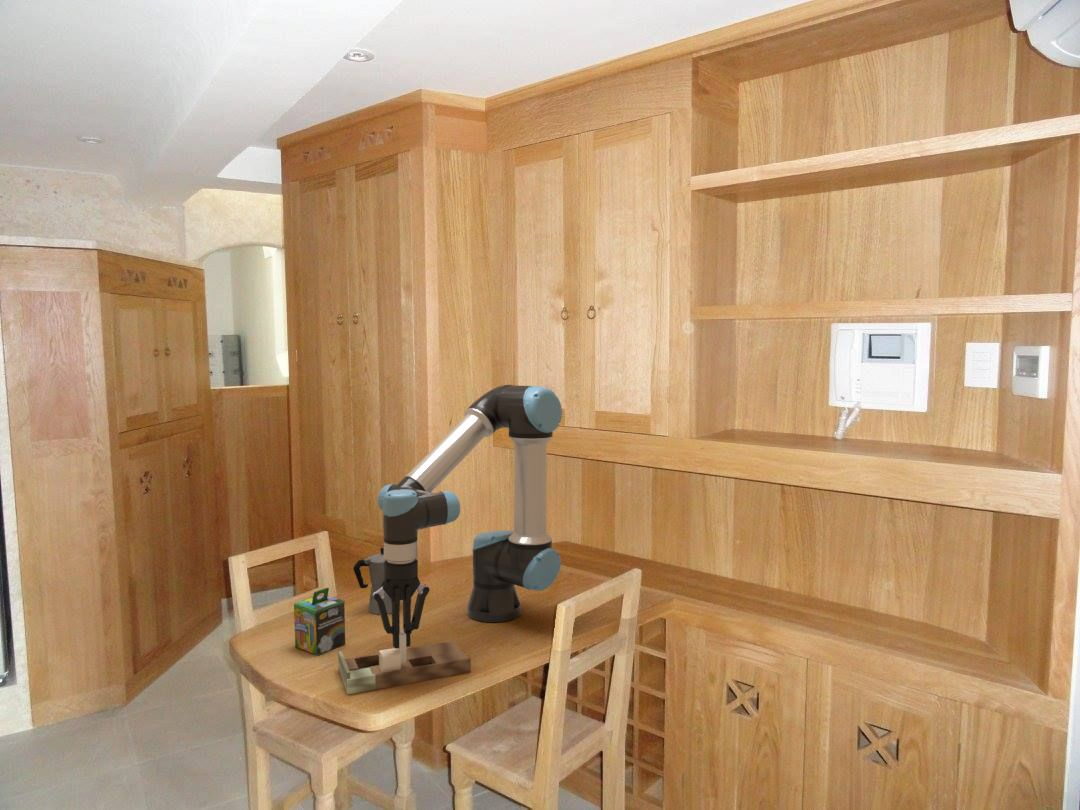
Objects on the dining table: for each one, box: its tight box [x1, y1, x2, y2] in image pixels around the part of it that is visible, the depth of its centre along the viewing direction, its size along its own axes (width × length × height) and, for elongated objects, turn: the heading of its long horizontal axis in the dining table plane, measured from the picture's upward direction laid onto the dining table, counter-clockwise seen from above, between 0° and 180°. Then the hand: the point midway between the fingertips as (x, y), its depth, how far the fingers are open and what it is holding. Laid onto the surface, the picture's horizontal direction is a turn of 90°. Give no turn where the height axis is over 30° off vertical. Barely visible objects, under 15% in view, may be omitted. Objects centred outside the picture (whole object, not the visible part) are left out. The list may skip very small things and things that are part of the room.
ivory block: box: [378, 647, 401, 673], centre depth 168 cm, size 4×4×4 cm
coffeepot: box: [353, 547, 392, 616], centre depth 212 cm, size 15×9×18 cm, turn 126°
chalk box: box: [293, 587, 346, 657], centre depth 187 cm, size 9×9×15 cm
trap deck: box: [337, 640, 472, 695], centre depth 173 cm, size 28×13×4 cm, turn 114°
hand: (401, 660), depth 170 cm, fingers closed
